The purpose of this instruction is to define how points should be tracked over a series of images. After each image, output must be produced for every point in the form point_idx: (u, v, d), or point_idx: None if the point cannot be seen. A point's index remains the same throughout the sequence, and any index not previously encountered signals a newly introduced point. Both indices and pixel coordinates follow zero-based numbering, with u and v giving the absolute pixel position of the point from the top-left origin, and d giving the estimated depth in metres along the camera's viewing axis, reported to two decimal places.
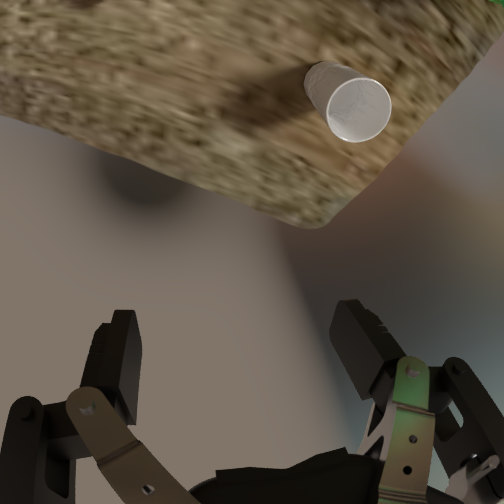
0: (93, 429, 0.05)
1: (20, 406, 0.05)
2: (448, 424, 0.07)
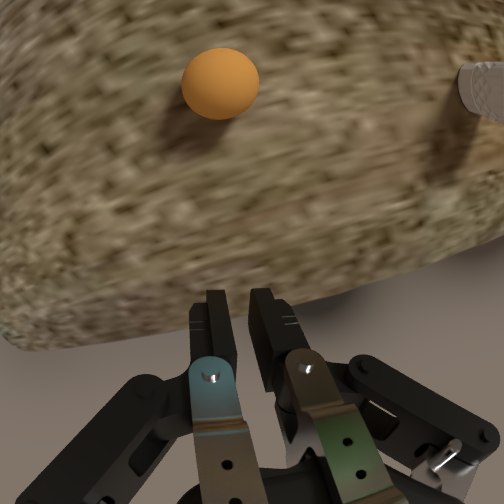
0: (227, 393, 0.07)
1: (141, 383, 0.07)
2: (376, 418, 0.08)
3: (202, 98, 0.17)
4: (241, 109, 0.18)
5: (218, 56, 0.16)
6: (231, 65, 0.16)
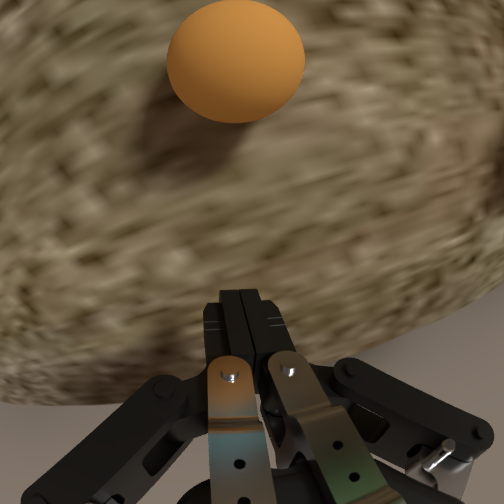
0: (247, 392, 0.07)
1: (161, 383, 0.07)
2: (365, 420, 0.08)
3: (204, 83, 0.08)
4: (275, 106, 0.10)
5: (235, 8, 0.07)
6: (261, 23, 0.07)
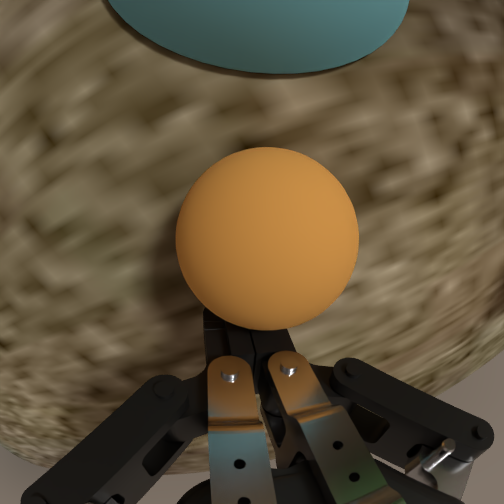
0: (247, 392, 0.07)
1: (161, 383, 0.07)
2: (365, 421, 0.08)
3: (242, 242, 0.06)
4: (344, 276, 0.07)
5: None
6: (297, 156, 0.07)
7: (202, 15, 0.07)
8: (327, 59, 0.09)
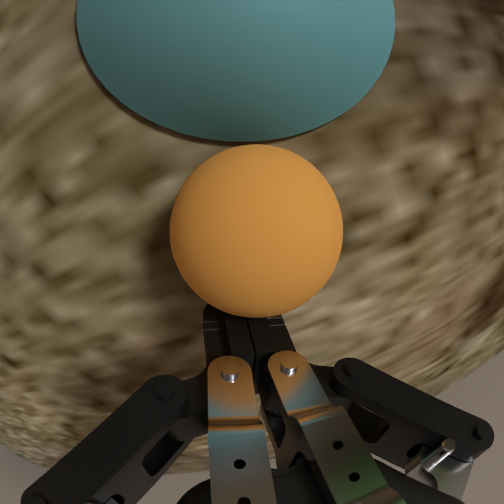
0: (247, 392, 0.07)
1: (161, 383, 0.07)
2: (365, 421, 0.08)
3: (231, 160, 0.07)
4: (331, 194, 0.08)
5: None
6: None
7: (180, 85, 0.09)
8: (300, 123, 0.10)
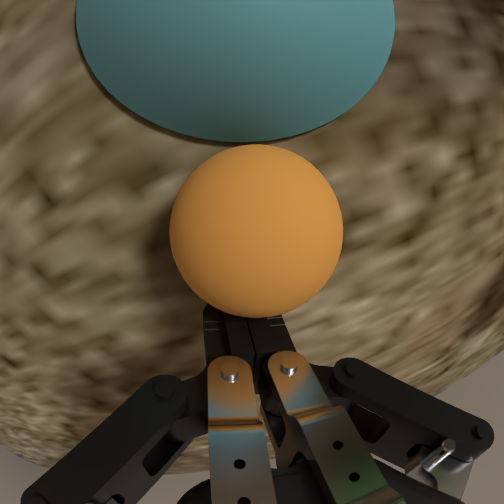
0: (247, 392, 0.07)
1: (161, 384, 0.07)
2: (365, 421, 0.08)
3: (231, 160, 0.07)
4: (330, 194, 0.08)
5: None
6: None
7: (180, 85, 0.09)
8: (300, 124, 0.10)
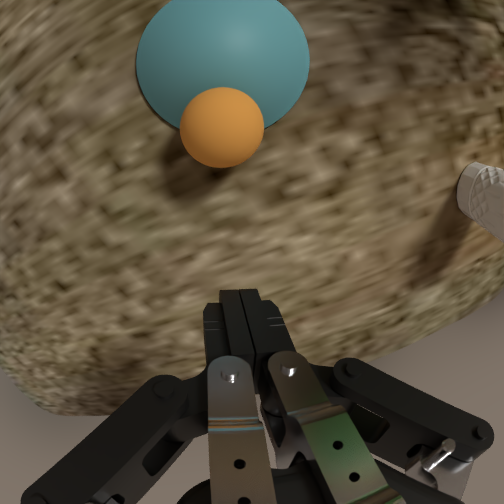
0: (247, 392, 0.07)
1: (161, 383, 0.07)
2: (365, 420, 0.08)
3: None
4: None
5: None
6: None
7: None
8: None
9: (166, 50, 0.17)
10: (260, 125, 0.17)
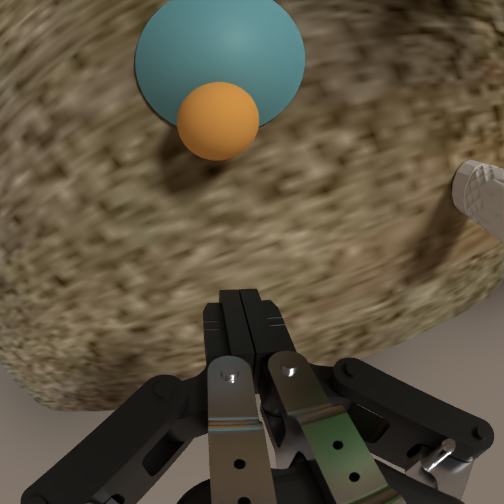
0: (247, 392, 0.07)
1: (161, 384, 0.07)
2: (365, 420, 0.08)
3: None
4: None
5: None
6: None
7: None
8: None
9: (165, 49, 0.17)
10: (255, 116, 0.17)
